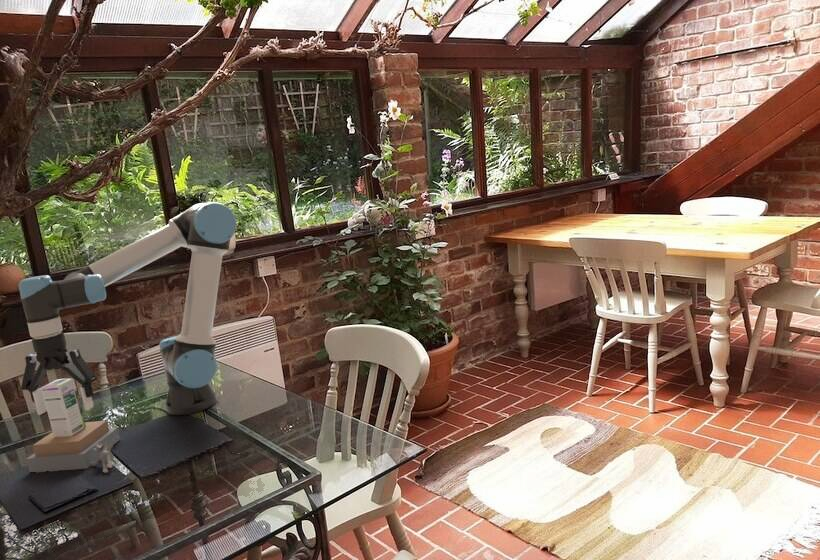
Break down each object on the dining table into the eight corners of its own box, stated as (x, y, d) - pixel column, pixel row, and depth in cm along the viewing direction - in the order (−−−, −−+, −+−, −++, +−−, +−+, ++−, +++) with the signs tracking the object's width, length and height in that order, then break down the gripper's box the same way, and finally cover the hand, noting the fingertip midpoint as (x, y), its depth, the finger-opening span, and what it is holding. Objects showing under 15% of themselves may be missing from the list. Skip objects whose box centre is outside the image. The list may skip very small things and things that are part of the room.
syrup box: (72, 436, 166) (59, 385, 163) (52, 437, 167) (40, 386, 164) (86, 427, 171) (74, 377, 169) (68, 428, 172) (55, 378, 170)
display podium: (120, 440, 177) (115, 417, 176) (86, 468, 162) (80, 443, 160) (68, 445, 179) (62, 422, 178) (29, 472, 163) (23, 448, 162)
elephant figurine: (84, 480, 155) (80, 456, 162) (105, 487, 159) (101, 463, 166) (111, 450, 156) (107, 428, 162) (131, 458, 159) (126, 436, 166)
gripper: (100, 326, 166) (117, 401, 170) (14, 335, 169) (32, 409, 173) (83, 334, 159) (101, 412, 163) (-7, 343, 162) (13, 420, 166)
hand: (66, 410), depth 168 cm, fingers open, 13 cm apart
